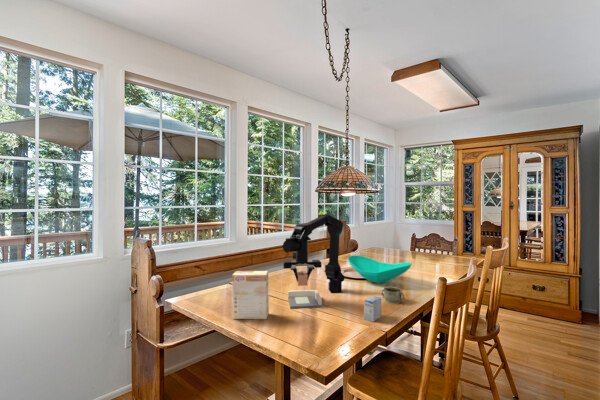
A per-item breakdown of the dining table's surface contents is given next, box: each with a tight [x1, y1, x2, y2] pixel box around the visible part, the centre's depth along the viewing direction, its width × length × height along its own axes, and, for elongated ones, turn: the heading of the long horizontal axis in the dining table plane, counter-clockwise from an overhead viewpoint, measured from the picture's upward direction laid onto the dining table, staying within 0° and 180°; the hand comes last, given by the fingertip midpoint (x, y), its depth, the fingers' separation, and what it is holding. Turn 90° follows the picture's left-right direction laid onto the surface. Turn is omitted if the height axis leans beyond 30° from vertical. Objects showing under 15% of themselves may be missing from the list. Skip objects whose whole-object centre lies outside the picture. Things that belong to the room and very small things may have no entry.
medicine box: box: [363, 295, 382, 323], centre depth 135 cm, size 8×4×9 cm, turn 141°
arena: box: [287, 289, 323, 310], centre depth 153 cm, size 15×14×4 cm
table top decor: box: [347, 255, 412, 284], centre depth 190 cm, size 40×28×13 cm
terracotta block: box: [296, 270, 309, 287], centre depth 154 cm, size 8×4×5 cm, turn 5°
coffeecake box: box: [231, 270, 270, 320], centre depth 137 cm, size 15×7×20 cm, turn 88°
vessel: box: [381, 286, 405, 305], centre depth 155 cm, size 12×9×6 cm
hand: (302, 281), depth 154 cm, fingers closed on terracotta block, 4 cm apart
